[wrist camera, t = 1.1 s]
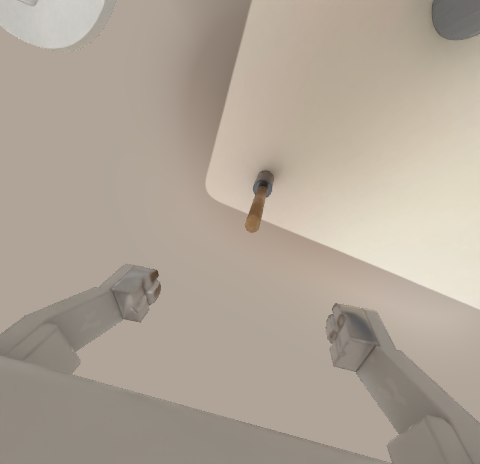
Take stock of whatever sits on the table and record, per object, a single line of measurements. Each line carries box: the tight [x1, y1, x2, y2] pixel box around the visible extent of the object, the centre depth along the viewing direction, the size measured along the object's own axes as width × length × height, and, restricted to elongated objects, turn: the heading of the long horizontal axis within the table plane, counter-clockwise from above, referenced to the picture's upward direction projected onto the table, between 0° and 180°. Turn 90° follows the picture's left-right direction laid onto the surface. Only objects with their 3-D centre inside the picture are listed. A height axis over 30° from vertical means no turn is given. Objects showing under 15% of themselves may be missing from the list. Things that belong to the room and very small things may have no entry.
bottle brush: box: [245, 171, 273, 233], centre depth 26 cm, size 3×3×18 cm
